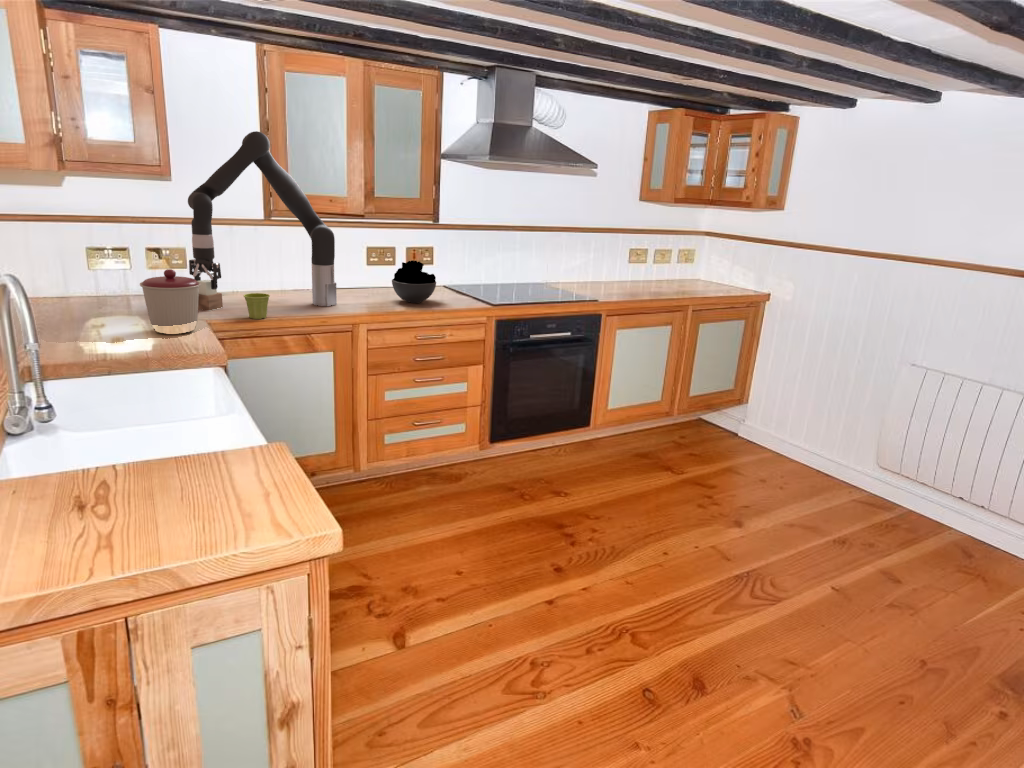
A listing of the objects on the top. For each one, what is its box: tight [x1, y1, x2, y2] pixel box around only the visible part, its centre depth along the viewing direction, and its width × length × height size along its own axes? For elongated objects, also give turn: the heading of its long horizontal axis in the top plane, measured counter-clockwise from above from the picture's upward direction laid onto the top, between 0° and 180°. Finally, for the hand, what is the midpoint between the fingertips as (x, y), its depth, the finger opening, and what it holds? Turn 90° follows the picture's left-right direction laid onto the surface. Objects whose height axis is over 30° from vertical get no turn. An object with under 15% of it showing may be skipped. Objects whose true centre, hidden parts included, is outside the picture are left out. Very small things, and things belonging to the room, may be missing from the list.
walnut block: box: [198, 292, 224, 311], centre depth 258 cm, size 8×8×6 cm
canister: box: [139, 268, 201, 326], centre depth 218 cm, size 18×18×21 cm
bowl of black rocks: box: [391, 260, 437, 304], centre depth 296 cm, size 20×20×19 cm
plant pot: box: [243, 292, 271, 320], centre depth 247 cm, size 9×9×9 cm
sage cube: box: [198, 279, 218, 295], centre depth 256 cm, size 5×5×5 cm
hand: (206, 287), depth 256 cm, fingers open, 8 cm apart
